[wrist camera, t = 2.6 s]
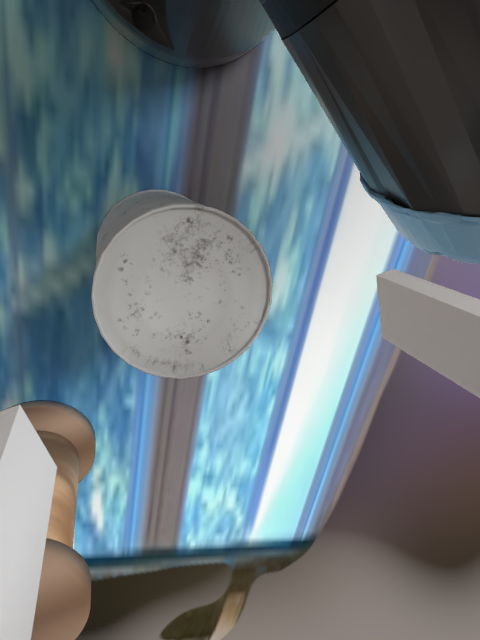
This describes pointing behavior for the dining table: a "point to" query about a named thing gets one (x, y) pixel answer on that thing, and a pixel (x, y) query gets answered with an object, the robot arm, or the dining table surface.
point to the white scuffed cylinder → (178, 285)
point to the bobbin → (62, 522)
